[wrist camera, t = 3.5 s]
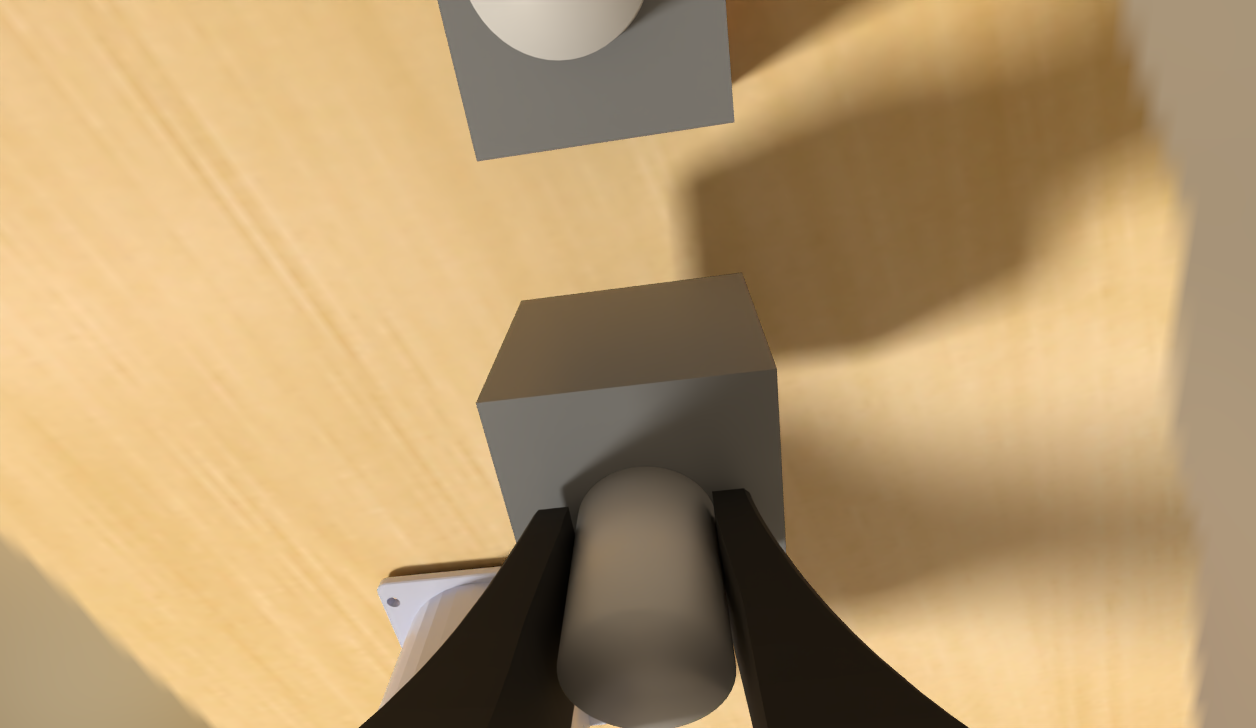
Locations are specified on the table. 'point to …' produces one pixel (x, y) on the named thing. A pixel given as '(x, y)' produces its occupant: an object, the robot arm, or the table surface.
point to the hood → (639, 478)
